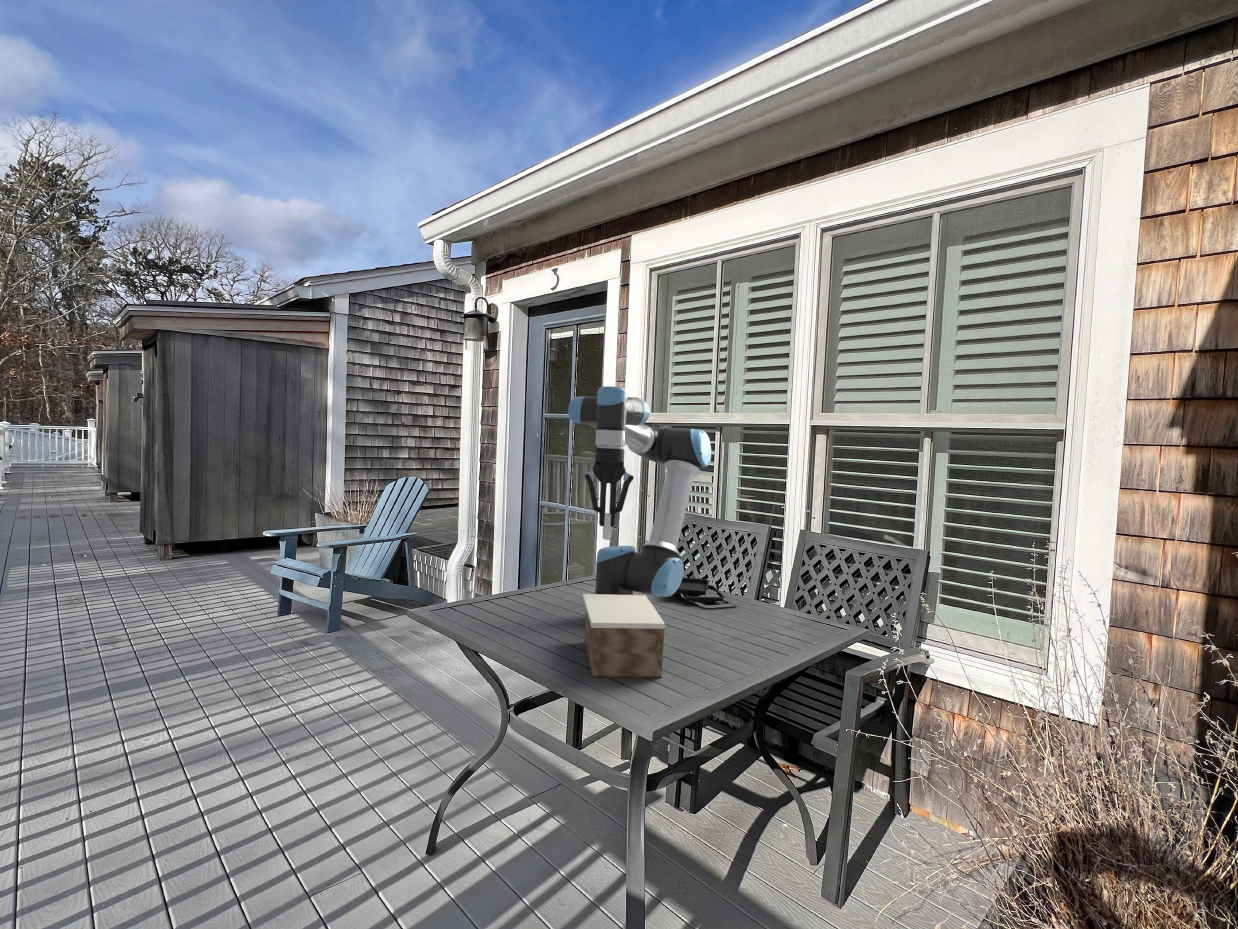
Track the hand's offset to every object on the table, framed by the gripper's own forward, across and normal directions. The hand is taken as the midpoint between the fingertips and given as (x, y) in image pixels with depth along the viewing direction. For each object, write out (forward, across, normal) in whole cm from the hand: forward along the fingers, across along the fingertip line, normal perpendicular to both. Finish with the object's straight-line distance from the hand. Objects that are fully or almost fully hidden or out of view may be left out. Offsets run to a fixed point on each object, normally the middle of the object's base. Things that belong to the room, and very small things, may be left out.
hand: (606, 538), depth 168 cm
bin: (+30, -4, +3) cm, 31 cm away
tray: (+32, -42, -59) cm, 79 cm away
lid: (+18, -4, +3) cm, 19 cm away
